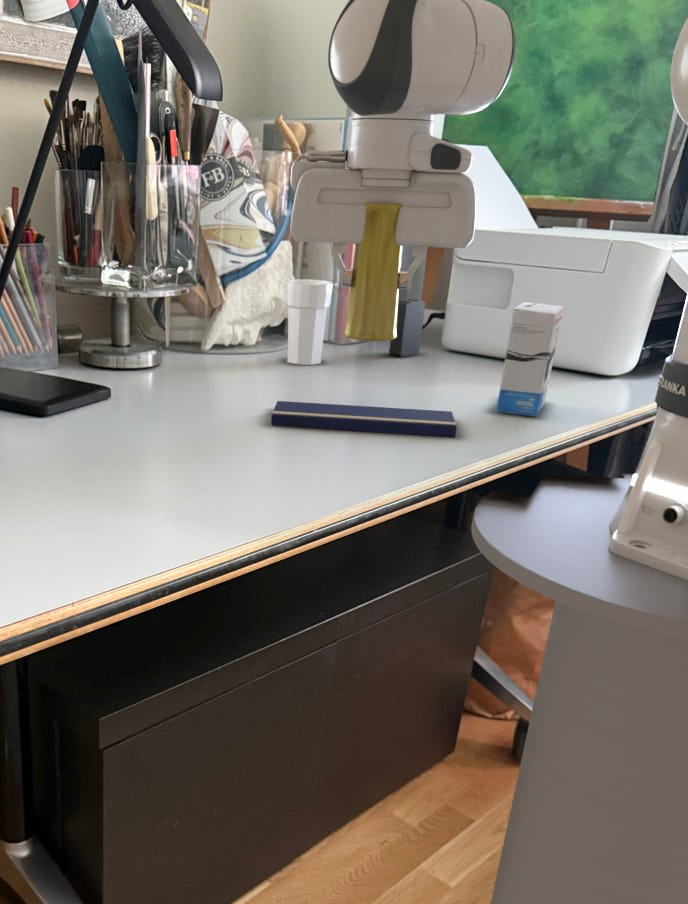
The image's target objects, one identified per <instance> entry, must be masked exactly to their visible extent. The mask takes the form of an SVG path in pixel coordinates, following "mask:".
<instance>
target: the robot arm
mask: <svg viewBox="0 0 688 904" xmlns="http://www.w3.org/2000/svg"><path fill="white" fill-rule="evenodd" d="M516 44H517V43H516V34H515V28H514V25H513V22H512V19H511V17H510V16H509V14H508V13H507V10H505V8H503V7H502V6H501V5H497V4H495V3H492V2H490V1H488V0H348V1H347V3H346V4H345V6H344V7H343V9H342V11H341V13H340V14H339V16H338V18H337V20H336V21H335V25H334V26H333V29H332V32H331V35H330V39H329V44H328V50H327V51H328V52H327V63H328V70H329V74H330V77H331V80H332V83H333V85H334V87H335V89H336V92H337V93H338V95H339V97H340V98H341V99H342V101H343V102H344V104H345V105H346V106H347V107H348V108H349V109H350V110H351V113H350V117H349V118H350V120H349V129H348V142H347V149H346V150H337V149H336V150H323V151H322V150H318V149H309V150H306V151H305V153H303V154H300V155H299V156H297V157H296V158H295V159H294V161H293V162H292V165H291V169H290V187H291V190H292V192H293V193H294V199H293V204H292V209H291V217H290V225H289V234H290V236H291V237H292V239H293V240H294V241H295V242H298V243H323V244H331V256H332V258H333V261H334V263H335V265H336V267H337V269H338V271H339V276H338V288H350V287H351V285H352V274H353V269H349V268H348V269H347V268H346V265H345V263H344V260H343V258H342V256H341V255H344V253H345V250H346V244H349V245H356V244H361V242H362V239H363V234H364V225H365V217H366V205H364V204H365V203H374V204H402V205H403V207H401V208H400V211H399V215H398V221H397V227H396V236H395V239H396V244H397V245H399V246H403V247H412V249H411V257H412V258H414V259H413V261H412V263H411V264H410V266H409V267H408V268H407V270H406V271H400V274H399V282H398V289H399V290H400V291H401V290H402V291H403V290H404V291H411V290H412V284H413V277H414V274H415V273H416V271H417V270H418V269H419V267H420V266H421V264H422V263H423V261H424V260H425V258H426V251H427V248H448V249H449V248H450V249H465V248H467V247H468V246H469V245H470V244H471V243H472V242H473V240H474V236H475V230H476V229H475V228H476V215H477V214H476V213H477V210H476V209H477V200H476V188H475V185H474V182H473V180H472V179H471V178H470V177H469V176H468V175H467V174H464V173H467V172H469V171H470V169H471V166H472V163H473V153H472V151H470V150H469V149H467V148H464V147H462V146H460V145H457V144H454V143H452V142H450V140H448V139H446V138H439V137H436V136H434V125H435V116H436V115H450V116H466V115H470V114H475V113H480V112H483V111H485V110H487V109H488V108H489V107H490V106H491V105H493V103H494V102H495V101H496V100H497V99H498V98H499V97H500V95H501V94H502V93H503V91H504V89H505V88H506V86H507V84H508V82H509V79H510V77H511V75H512V72H513V68H514V63H515V58H516V46H517V45H516ZM672 54H673V55H672V59H671V64H670V65H671V66H670V77H669V78H670V80H669V81H670V91H671V97H672V101H673V104H674V106H675V109H676V111H677V113H678V115H679V117H680V118H681V119H682V121H683V122H684V123H685V124H686V125H687V126H688V17H687V18H686V20H685V22H684V23H683V26H682V28H681V30H680V32H679V35H678V37H677V40H676V42H675V46H674V50H673V53H672ZM303 159H305V161H302V160H303ZM686 294H687V295H686V299H685V303H684V306H683V311H682V315H681V319H680V322H679V327H678V331H677V335H676V339H675V343H674V347H673V350H672V351H673V352H672V354H670V355H669V356H668V357H666V358H665V361H664V365H663V368H662V371H661V375H659V378H658V382H657V385H658V386H657V390H656V393H655V398H654V402H655V403H656V413H655V416H654V420H653V423H652V427H651V430H650V433H649V435H648V437H647V438H648V439H647V441H646V443H645V447H644V450H643V451H642V454H641V457H640V460H639V462H638V465H637V467H636V470H635V472H634V473H633V478H632V482H631V484H630V486H629V488H628V490H627V492H626V495H625V497H624V499H623V501H622V502H621V504H620V506H619V508H618V510H617V511H616V513H615V515H614V516H613V518H612V519H611V521H610V523H609V528H610V531H611V533H612V535H613V536H612V538H611V541H610V543H609V546H608V549H609V551H611V552H612V553H614V554H617V555H619V556H622V557H625V558H627V559H630V560H633V561H635V562H638V563H641V564H643V565H646V566H649V567H652V568H654V569H657V570H660V571H662V572H665V573H668V574H670V575H673V576H676V577H679V578H681V579H684V580H687V581H688V293H686Z"/></svg>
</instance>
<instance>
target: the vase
mask: <svg viewBox="0 0 688 904" xmlns="http://www.w3.org/2000/svg"><path fill="white" fill-rule="evenodd" d="M364 205H366V217H365V225H364V234H363V239H362V242H361V244H354V246H355V247H354V256H353V264H352V270H353V274H352V278H351V279H352V285H351V287H349V295H348V302H347V311H346V322H345V329H344V331H343V336H344V337H345V338H348V339H351V340H356V341H365V342H389V341H391V340H393V339H395V338H396V337H397V313H398V301H399V291H400V289H398V282H399V281H400V280H399V274H400V272H401V267H402V259H403V249H404V246H399V245H397V244H396V239H395V236H396V227H397V221H398V215H399V211H400V208H401V207H403V205H402V204H374V203H365V204H364Z"/></svg>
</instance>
